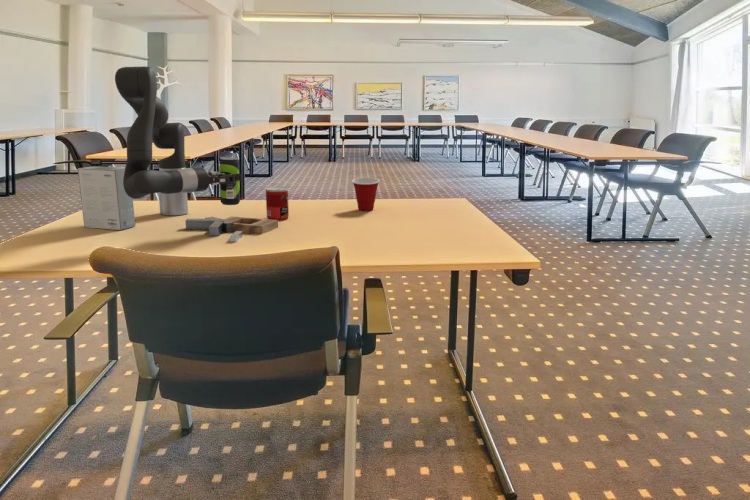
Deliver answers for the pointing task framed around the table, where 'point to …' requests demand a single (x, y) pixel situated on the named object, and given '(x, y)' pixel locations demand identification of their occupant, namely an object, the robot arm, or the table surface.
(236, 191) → the beverage can
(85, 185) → the hard drive box
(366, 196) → the plastic cup
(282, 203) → the canned food
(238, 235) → the bar
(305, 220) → the table surface
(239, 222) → the wooden rectangular frame
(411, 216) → the table surface
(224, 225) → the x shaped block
